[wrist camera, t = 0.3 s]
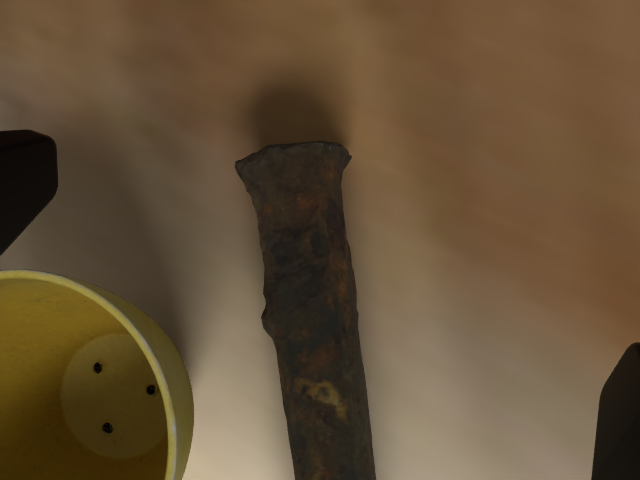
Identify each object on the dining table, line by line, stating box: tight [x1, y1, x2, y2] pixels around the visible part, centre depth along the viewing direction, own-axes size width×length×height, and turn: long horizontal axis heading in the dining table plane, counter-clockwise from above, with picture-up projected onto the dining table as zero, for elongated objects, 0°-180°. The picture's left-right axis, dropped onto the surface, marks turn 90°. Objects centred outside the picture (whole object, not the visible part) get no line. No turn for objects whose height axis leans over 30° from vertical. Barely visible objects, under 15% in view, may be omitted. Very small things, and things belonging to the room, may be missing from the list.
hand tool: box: [235, 141, 376, 480], centre depth 22 cm, size 19×4×5 cm, turn 5°
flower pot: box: [0, 270, 194, 480], centre depth 22 cm, size 10×10×7 cm
